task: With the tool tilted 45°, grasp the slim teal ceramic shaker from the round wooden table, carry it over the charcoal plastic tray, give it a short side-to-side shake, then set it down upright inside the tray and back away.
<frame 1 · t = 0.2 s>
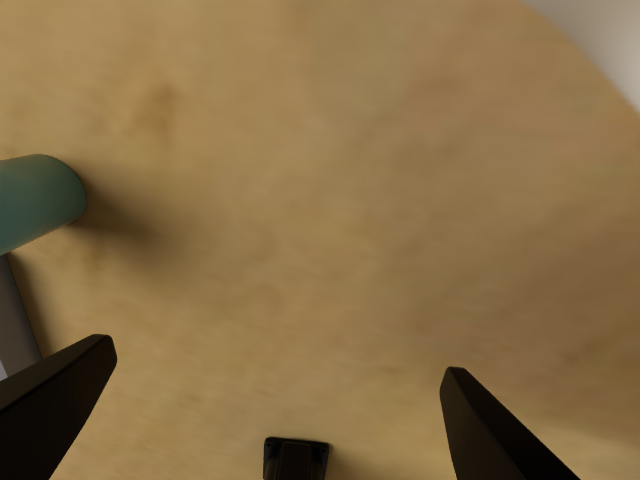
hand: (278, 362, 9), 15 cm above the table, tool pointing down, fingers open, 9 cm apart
shaker: (50, 190, 22), on the table
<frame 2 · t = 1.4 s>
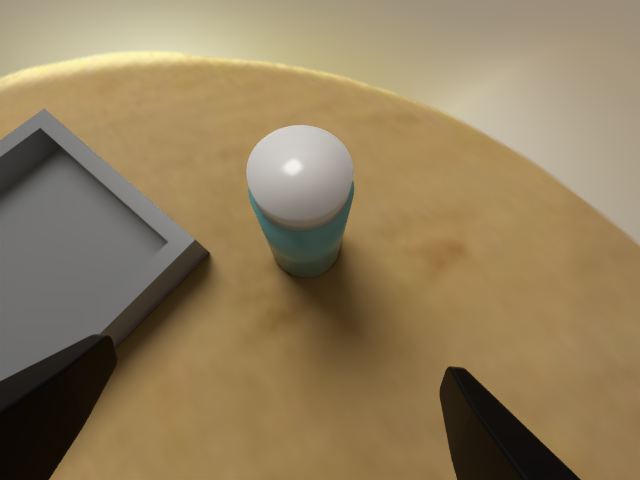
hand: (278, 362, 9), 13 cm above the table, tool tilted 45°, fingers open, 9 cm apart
shaker: (305, 244, 24), on the table
tray: (49, 266, 23), on the table
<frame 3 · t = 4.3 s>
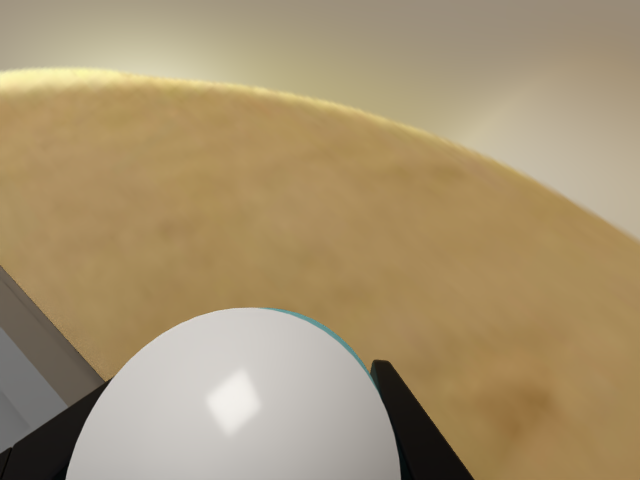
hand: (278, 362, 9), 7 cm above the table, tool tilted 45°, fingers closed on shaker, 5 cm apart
shaker: (289, 391, 14), on the table, touching gripper
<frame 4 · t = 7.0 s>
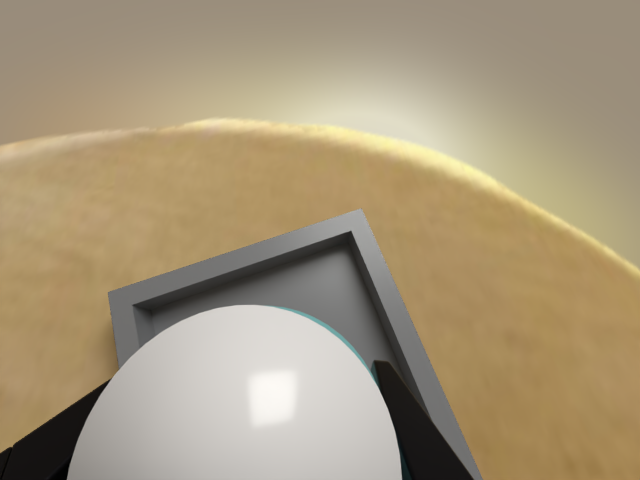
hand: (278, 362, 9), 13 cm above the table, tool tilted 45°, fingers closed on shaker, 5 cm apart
shaker: (290, 390, 14), point 6 cm above the table, touching gripper
tray: (285, 377, 20), on the table
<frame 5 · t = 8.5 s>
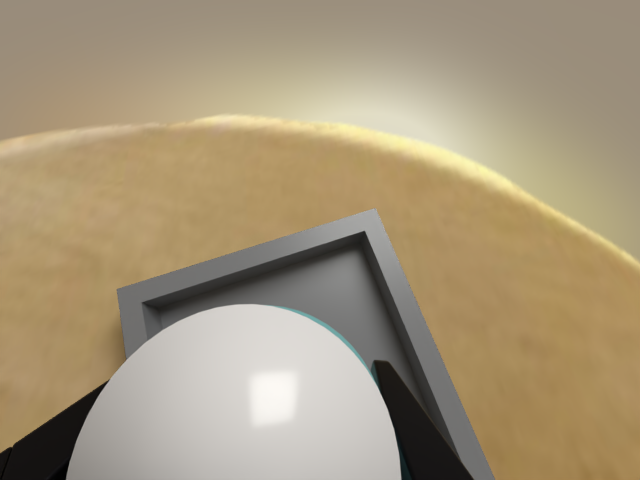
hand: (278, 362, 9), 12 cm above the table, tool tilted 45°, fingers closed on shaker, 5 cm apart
shaker: (289, 389, 14), point 6 cm above the table, touching gripper
tray: (295, 379, 19), on the table
when the fingers open (8 cm above the table, at t = 9.6 s): shaker drops 1 cm, resting on tray.
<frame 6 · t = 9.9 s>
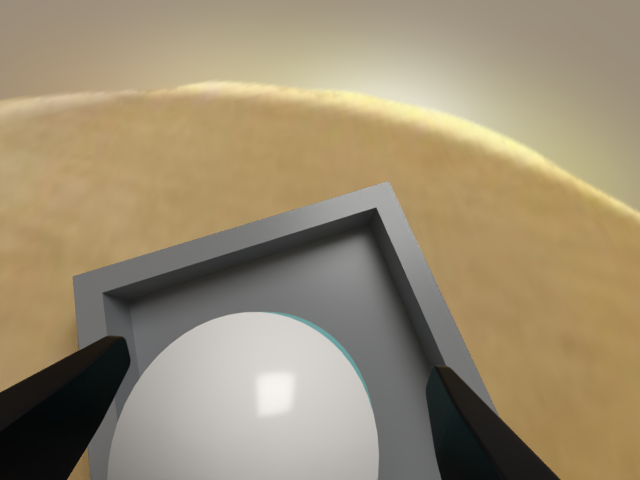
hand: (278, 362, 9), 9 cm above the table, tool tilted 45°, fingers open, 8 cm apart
shaker: (291, 388, 15), point 1 cm above the table, touching tray
tray: (292, 386, 16), on the table
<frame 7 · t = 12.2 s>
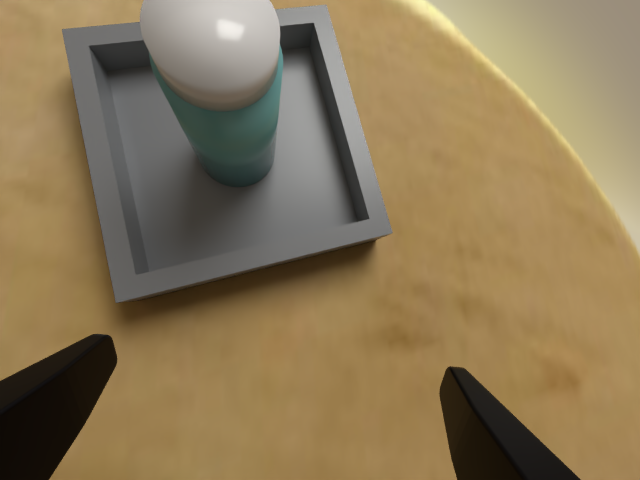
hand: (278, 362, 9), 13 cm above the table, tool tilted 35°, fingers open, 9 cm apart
shaker: (237, 150, 21), point 1 cm above the table, touching tray
tray: (238, 155, 22), on the table
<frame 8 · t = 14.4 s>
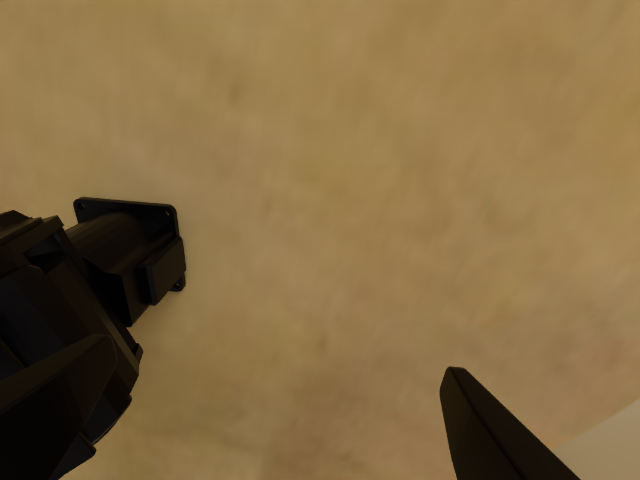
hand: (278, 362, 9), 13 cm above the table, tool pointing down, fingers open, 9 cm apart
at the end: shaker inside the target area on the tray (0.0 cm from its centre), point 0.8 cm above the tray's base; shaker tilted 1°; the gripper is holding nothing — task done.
